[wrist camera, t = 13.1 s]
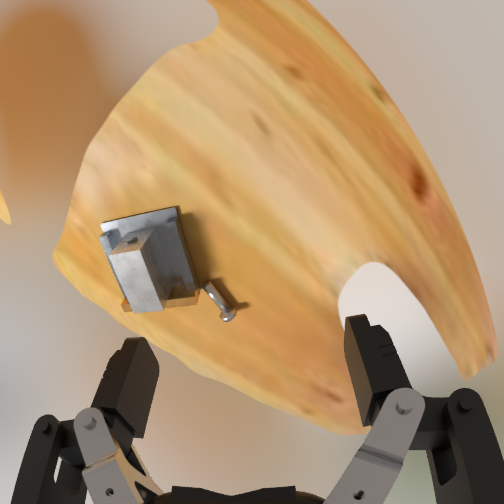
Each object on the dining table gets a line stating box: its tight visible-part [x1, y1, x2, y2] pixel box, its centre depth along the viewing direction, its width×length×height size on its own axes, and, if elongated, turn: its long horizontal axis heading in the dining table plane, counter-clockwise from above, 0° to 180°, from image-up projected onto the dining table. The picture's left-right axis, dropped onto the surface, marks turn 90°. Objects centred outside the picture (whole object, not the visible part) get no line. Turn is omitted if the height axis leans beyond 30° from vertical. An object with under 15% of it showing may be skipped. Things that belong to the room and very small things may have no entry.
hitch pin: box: [203, 281, 237, 322], centre depth 49 cm, size 7×3×3 cm, turn 30°
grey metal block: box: [109, 228, 174, 313], centre depth 43 cm, size 10×5×7 cm, turn 10°
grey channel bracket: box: [99, 207, 201, 312], centre depth 45 cm, size 14×13×4 cm
